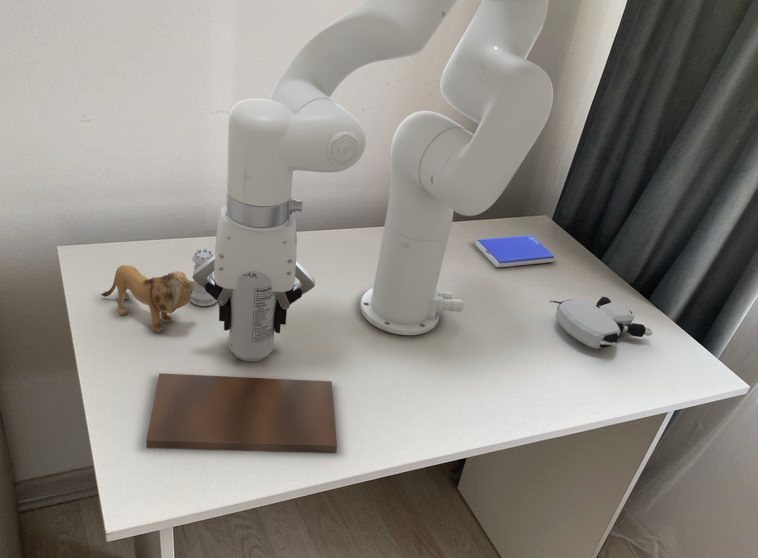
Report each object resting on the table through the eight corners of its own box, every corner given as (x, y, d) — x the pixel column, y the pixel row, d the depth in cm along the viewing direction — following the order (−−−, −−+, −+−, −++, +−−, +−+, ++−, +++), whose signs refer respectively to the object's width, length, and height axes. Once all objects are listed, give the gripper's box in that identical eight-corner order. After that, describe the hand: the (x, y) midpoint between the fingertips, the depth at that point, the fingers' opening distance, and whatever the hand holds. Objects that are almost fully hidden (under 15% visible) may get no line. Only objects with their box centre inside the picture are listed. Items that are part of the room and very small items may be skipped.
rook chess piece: (222, 294, 111) (224, 248, 106) (213, 310, 108) (214, 263, 103) (193, 288, 111) (193, 242, 106) (183, 304, 107) (183, 257, 103)
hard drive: (530, 234, 143) (477, 238, 137) (554, 255, 137) (499, 261, 132) (528, 241, 143) (475, 245, 138) (552, 262, 138) (497, 268, 133)
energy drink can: (250, 331, 105) (254, 240, 96) (282, 350, 103) (289, 259, 94) (219, 349, 101) (221, 256, 92) (251, 369, 98) (256, 275, 89)
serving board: (330, 387, 98) (331, 381, 98) (336, 452, 89) (337, 445, 88) (159, 380, 94) (159, 373, 93) (146, 447, 84) (146, 440, 84)
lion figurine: (201, 323, 105) (201, 269, 99) (179, 342, 100) (179, 287, 95) (113, 290, 107) (109, 236, 102) (88, 307, 103) (83, 252, 98)
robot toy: (598, 308, 129) (538, 319, 121) (608, 286, 127) (547, 296, 118) (650, 348, 122) (589, 363, 113) (661, 326, 119) (601, 339, 111)
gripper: (328, 198, 93) (315, 313, 104) (187, 185, 89) (188, 306, 100) (331, 227, 87) (317, 346, 98) (181, 214, 84) (183, 339, 94)
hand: (252, 324), depth 99 cm, fingers closed on energy drink can, 6 cm apart
